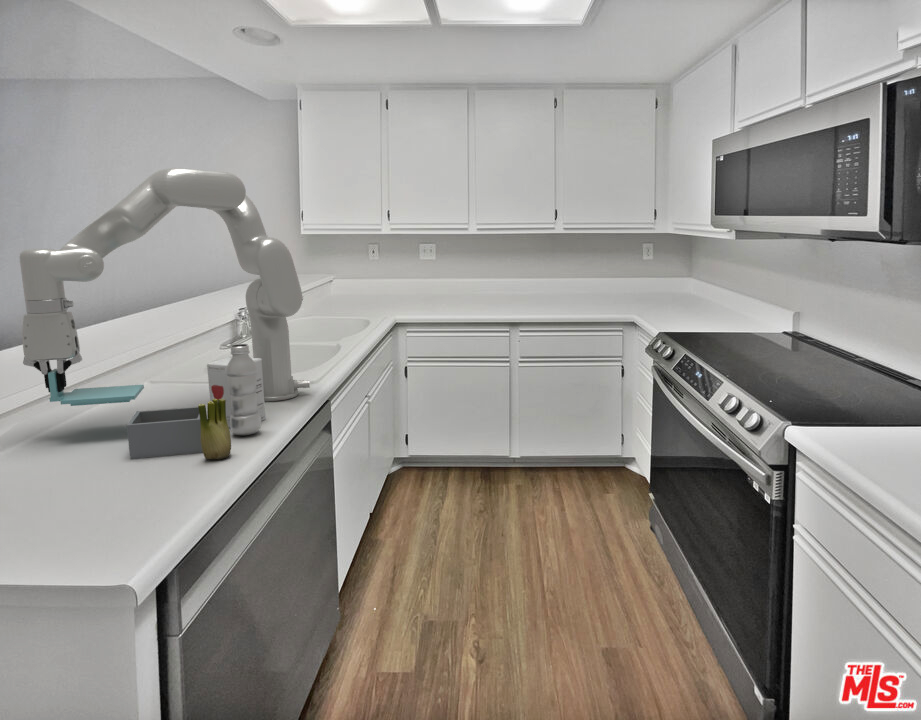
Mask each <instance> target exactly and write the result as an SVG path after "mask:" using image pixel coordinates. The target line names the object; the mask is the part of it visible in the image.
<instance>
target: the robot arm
mask: <svg viewBox="0 0 921 720" xmlns="http://www.w3.org/2000/svg"><path fill="white" fill-rule="evenodd" d="M176 207H188V208H198V209H199V208H201V209H202V208H203V209H207V210H209V211H213V212H214V213H216V214H217V215H218V216H219V217H220V218H222V220H223V221H224V223H225V225H226V227H227V230H228V232H229V235H230V239H231V242H232V244H233V247H234V251H235V255H236V258H237V260H238V263H239V266H240V267H241V269H242V270H243V271H244V272H246V273H247V274H251V275H255V276H256V275H257V276H259V278H256V279H255V280H253V281H252V282H251V283H249V285H248V287H247V289H246V291H245V304H246V309H247V314H248V316H249V321H250V322H249V323H250V330H251V331H250V332H251V344H252V345H251V346H252V358H261V359H262V375H263V391H264V402H277V401H284V400H285V401H286V400H290V399H293V398H295V397H297V396H299V389H302V388H303V389H308V388H310V387H311V386H310V380H304V379H299V380H297V379H294V376H293V375H292V365H291V363H292V362H291V361H292V360H291V347H290V333H289V332H290V331H289V325H288V320H287V318H289V317H293V316H294V315H296V314H297V313H298V312H299V311H300V309H301V307H302V303H303V291H302V287H301V285H300V281H299V276H298V274H297V271H296V266H295V263H294V260H293V257H292V254H291V252H290V250H289V249H288V248H289V247H288V246H286V244H285V243H284V242H282V240H280V239H278V238H274V237H269V236H268V235H267V232H266V230H265V226H264V223H263V221H262V218H261V216H260V212H259V211H258V209H257V206H256V205H255V204H254V202H253V201H252V200H251V198H250V197H249V196H248V195H247V193H246V186H245V184H244V182H243V180H241V178H239V176H237V175H236V174H233V173H230V172H224V171H223V172H222V171H212V170H201V169H200V170H199V169H191V168H183V167H172V168H166V169H160V170H157V171H155V172H154V173H153V174H151V175H150V176H148V177H147V178H146V179H145V180H143V181H142V182H141V183H140V184H139V185H137V187H135V188H134V189H133V190H132V191H131V192H130V193H129V194H127V195H126V196H125V197H124V198H122V199H121V200H120V201H119V202H118V203H117V204H115V205H114V206H113V207H111V208H110V209H109V210H107V211H106V212H104V214H102V215H101V216H99V217H98V218H97V219H96V220H94V221H93V222H92V223H90V224H88V225H87V226H86V227H85V228H84V229H82V230H81V231H80V232H78V233H77V234H76V235H74V236H73V237H72V238H71V239H70V240H69V241H67V243H65V244H64V245H63V246H61V248H59V249H53V248H31V249H24V250H22V251H21V252H20V254H19V264H20V272H21V279H22V287H23V295H24V302H25V310H26V312H25V314H23V318H22V333H21V334H22V351H23V361H22V364H23V365H24V366H26V367H27V366H28V367H32V368H34V369H36V370H38V371H39V372H40V373H41V374H42V375H44V376H43V377H44V384H45V389H47V390H48V393H50V387H49V379H48V373H49V372H50V371H52V370H53V369H52V367H51V360H52V361H54V360H55V361H56V369H57V374H56V381H57V389H58V392H61V391H63V392H64V390H65V388H67V376H66V372H67V370H68V369H69V368H70V367H71V366H72V365H75V364H78V363H80V362H82V361H83V357H82V355H81V351H80V350H81V348H80V347H81V346H80V341H79V336H78V335H79V334H78V331H77V327H76V322H75V319H74V316H73V314H72V312H71V311H67V310H68V309H69V308H73V307H74V301H73V300H68V299H67V297H66V294H65V285H64V282H78V283H80V282H81V283H84V282H85V283H88V282H92V281H94V280H96V279H97V278H99V277H100V276H101V275H102V274H103V272H104V269H105V262H104V258H105V257H106V256H108V255H109V254H110V253H112V252H114V250H116V249H118V248H120V247H122V246H124V245H127V244H129V243H131V242H132V243H133V242H135V241H137V240H138V239H140V238H142V237H144V235H146V234H147V233H148V232H149V231H150V230H151V229H153V228H154V227H155V226H156V225H157V224H158V223H159V222H160V221H161V220H162V219H164V218H165V217H166V216H167V215H168V214H170V213H171V212H172V211H173V210H174V209H175V208H176Z"/></svg>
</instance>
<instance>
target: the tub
mask: <svg viewBox="0 0 921 720" xmlns="http://www.w3.org/2000/svg"><path fill="white" fill-rule="evenodd" d="M205 408H206V409H207V406H206V405H205ZM126 431H127V441H128V449H129V458H130V460H133V459H144V458H145V459H146V458H154V457H155V458H156V457H164V456H165V457H167V456H168V457H169V456H177V455H178V456H179V455H187V454H199V453H200V454H201V453H203V451H202V446H201V426H200V415H199V408H198V406H188V407H176V408H175V407H174V408H162V409H151V410H149V409H147V410H139V411H138V410H137V411H136V412H135V413H134V415H133V416H132V417H131V419H130V420H129V421H128V422H127V424H126Z"/></svg>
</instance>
